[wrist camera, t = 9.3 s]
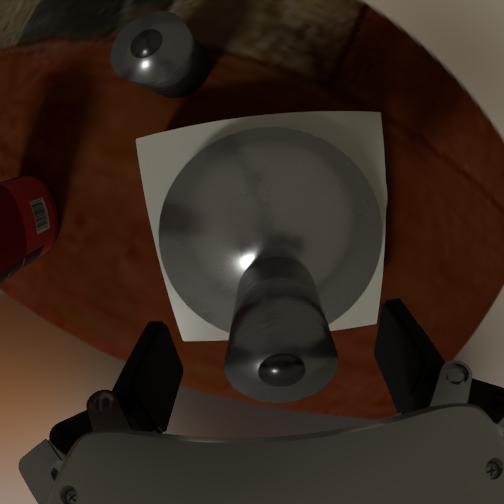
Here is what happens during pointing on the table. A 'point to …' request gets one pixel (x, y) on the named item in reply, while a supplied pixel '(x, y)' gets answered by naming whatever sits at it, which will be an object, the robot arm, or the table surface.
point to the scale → (316, 123)
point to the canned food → (25, 223)
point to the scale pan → (269, 220)
